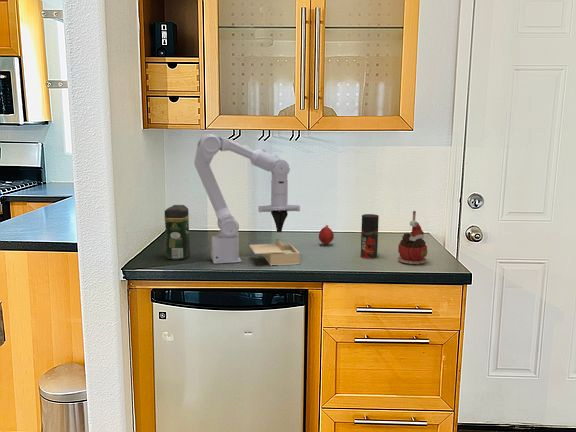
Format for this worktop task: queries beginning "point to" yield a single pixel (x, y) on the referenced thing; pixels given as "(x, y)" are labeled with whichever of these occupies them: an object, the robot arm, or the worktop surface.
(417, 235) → the cake
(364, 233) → the deodorant
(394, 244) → the worktop surface
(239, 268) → the worktop surface
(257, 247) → the lid
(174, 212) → the coffee jar
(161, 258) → the worktop surface
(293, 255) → the base
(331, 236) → the onion
